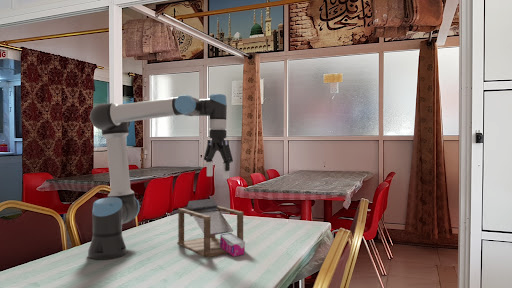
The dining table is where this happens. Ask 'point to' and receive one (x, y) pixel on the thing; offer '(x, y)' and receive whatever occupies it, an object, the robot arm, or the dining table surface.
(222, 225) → the trapdoor
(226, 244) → the supplement box
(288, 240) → the dining table surface
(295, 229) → the dining table surface
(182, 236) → the frame
